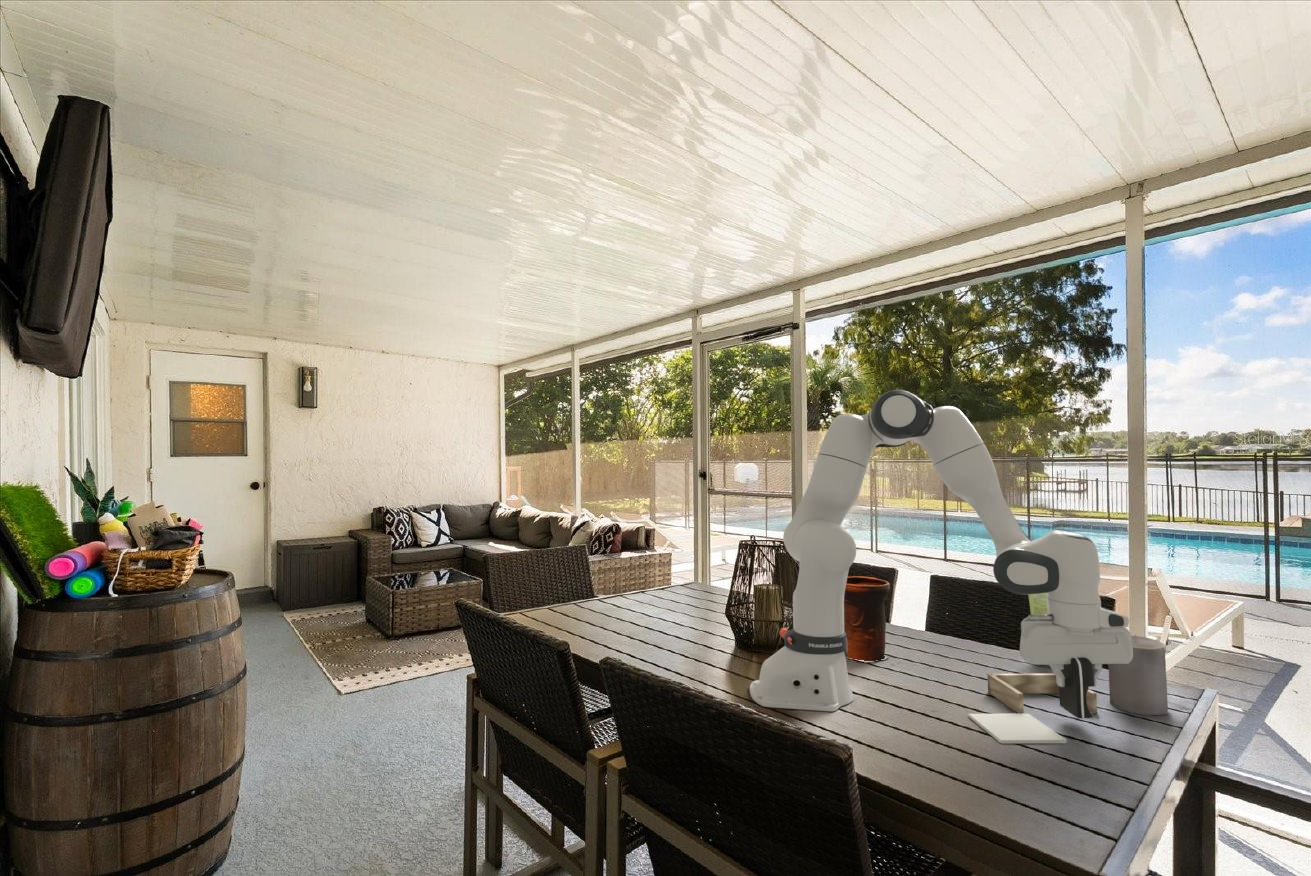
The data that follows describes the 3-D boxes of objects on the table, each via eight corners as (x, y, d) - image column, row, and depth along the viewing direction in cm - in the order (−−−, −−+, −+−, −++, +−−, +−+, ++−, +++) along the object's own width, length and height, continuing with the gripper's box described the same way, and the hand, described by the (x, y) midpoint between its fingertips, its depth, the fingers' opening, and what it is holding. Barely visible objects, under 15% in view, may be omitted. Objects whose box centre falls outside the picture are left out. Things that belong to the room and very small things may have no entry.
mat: (1000, 743, 114) (1000, 740, 114) (968, 716, 126) (968, 713, 126) (1066, 743, 114) (1066, 739, 114) (1027, 716, 126) (1027, 713, 126)
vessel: (830, 645, 175) (830, 574, 176) (882, 648, 173) (883, 576, 174) (837, 662, 161) (838, 584, 162) (895, 665, 159) (895, 586, 160)
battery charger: (1100, 720, 118) (1096, 659, 118) (1079, 720, 118) (1075, 659, 119) (1078, 706, 125) (1074, 648, 125) (1058, 706, 125) (1054, 648, 125)
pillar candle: (1114, 694, 137) (1111, 626, 138) (1171, 706, 130) (1168, 634, 131) (1105, 707, 130) (1102, 635, 131) (1165, 721, 123) (1161, 644, 124)
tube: (1047, 659, 162) (1044, 583, 163) (1063, 665, 157) (1061, 587, 158) (1028, 660, 161) (1026, 584, 161) (1045, 667, 156) (1042, 588, 156)
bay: (1018, 713, 127) (1018, 693, 127) (987, 691, 139) (987, 673, 139) (1097, 713, 127) (1096, 693, 127) (1059, 691, 139) (1059, 673, 139)
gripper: (1030, 618, 119) (1032, 692, 118) (1137, 618, 119) (1140, 691, 118) (1011, 611, 125) (1013, 680, 125) (1113, 610, 125) (1115, 679, 125)
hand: (1076, 685), depth 122 cm, fingers closed on battery charger, 4 cm apart
